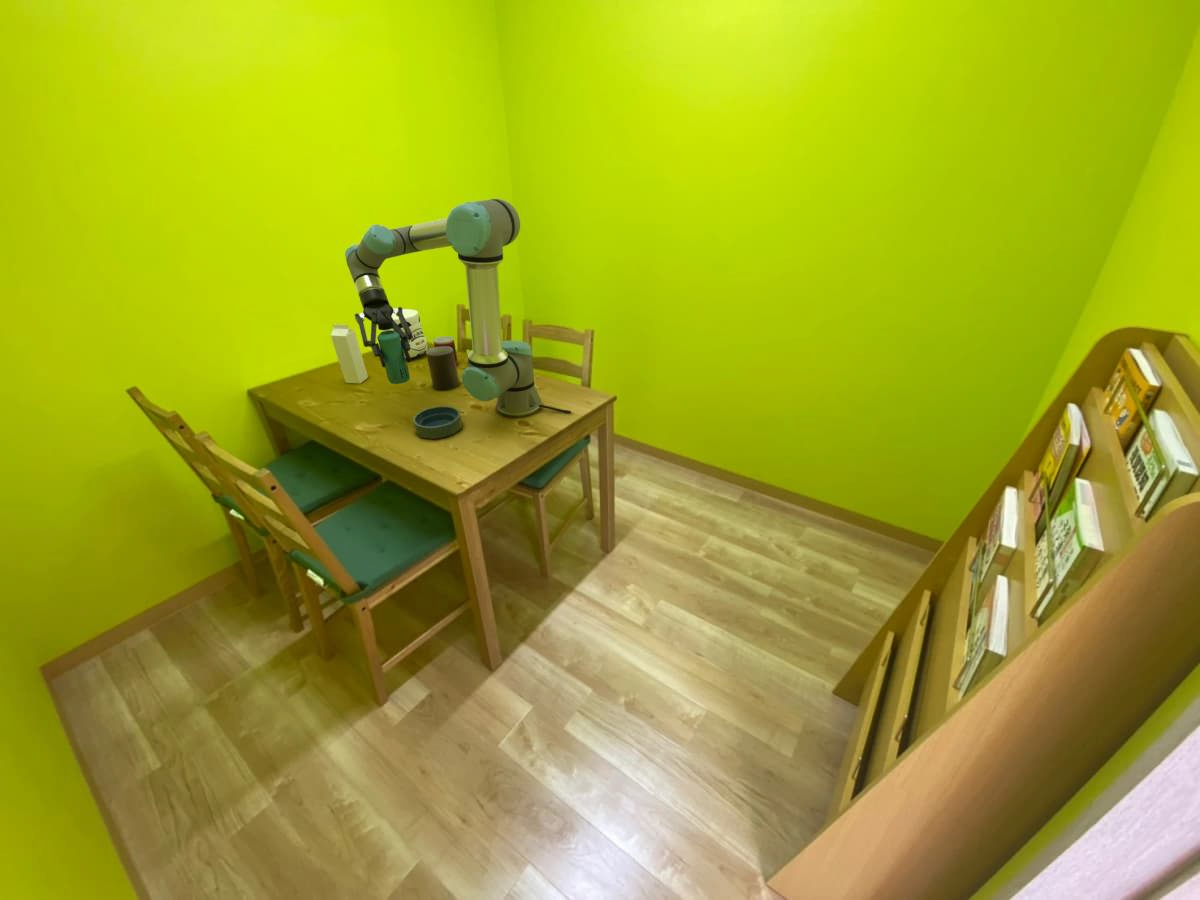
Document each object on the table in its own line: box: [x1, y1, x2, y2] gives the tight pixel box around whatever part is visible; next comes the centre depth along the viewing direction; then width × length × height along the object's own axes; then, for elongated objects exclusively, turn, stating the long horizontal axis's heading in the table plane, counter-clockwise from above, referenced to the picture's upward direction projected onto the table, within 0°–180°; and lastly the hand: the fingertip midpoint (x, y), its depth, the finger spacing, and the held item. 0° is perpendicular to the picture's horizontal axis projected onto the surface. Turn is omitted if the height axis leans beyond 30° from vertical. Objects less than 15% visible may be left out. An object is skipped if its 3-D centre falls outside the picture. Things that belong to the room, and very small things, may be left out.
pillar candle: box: [425, 346, 460, 391], centre depth 177 cm, size 10×10×15 cm
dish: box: [412, 405, 463, 440], centre depth 152 cm, size 14×14×4 cm
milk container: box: [382, 308, 429, 360], centre depth 203 cm, size 17×17×18 cm
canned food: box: [433, 335, 459, 366], centre depth 195 cm, size 8×8×11 cm
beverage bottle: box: [376, 320, 411, 385], centre depth 143 cm, size 6×7×20 cm
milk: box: [330, 323, 369, 385], centre depth 180 cm, size 6×6×22 cm
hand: (396, 362), depth 142 cm, fingers closed on beverage bottle, 6 cm apart
